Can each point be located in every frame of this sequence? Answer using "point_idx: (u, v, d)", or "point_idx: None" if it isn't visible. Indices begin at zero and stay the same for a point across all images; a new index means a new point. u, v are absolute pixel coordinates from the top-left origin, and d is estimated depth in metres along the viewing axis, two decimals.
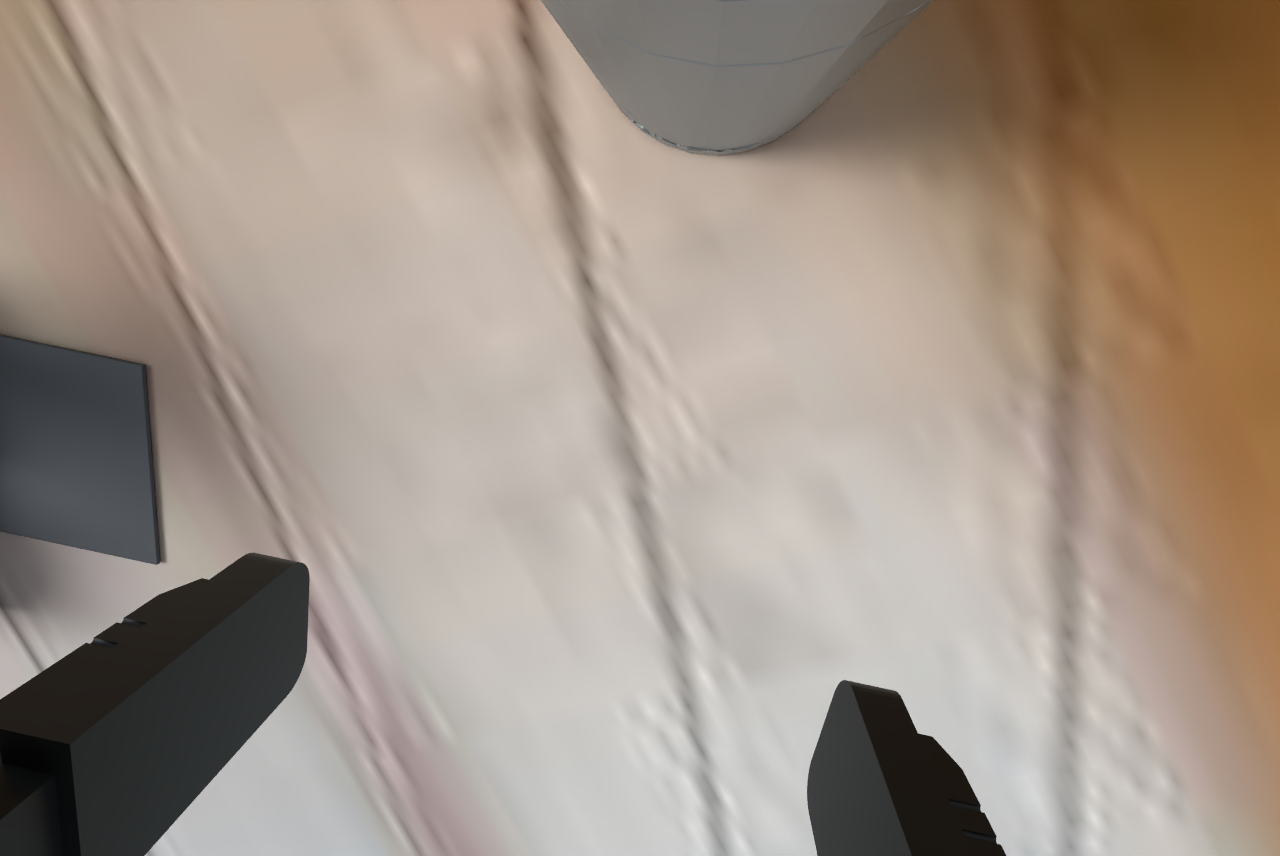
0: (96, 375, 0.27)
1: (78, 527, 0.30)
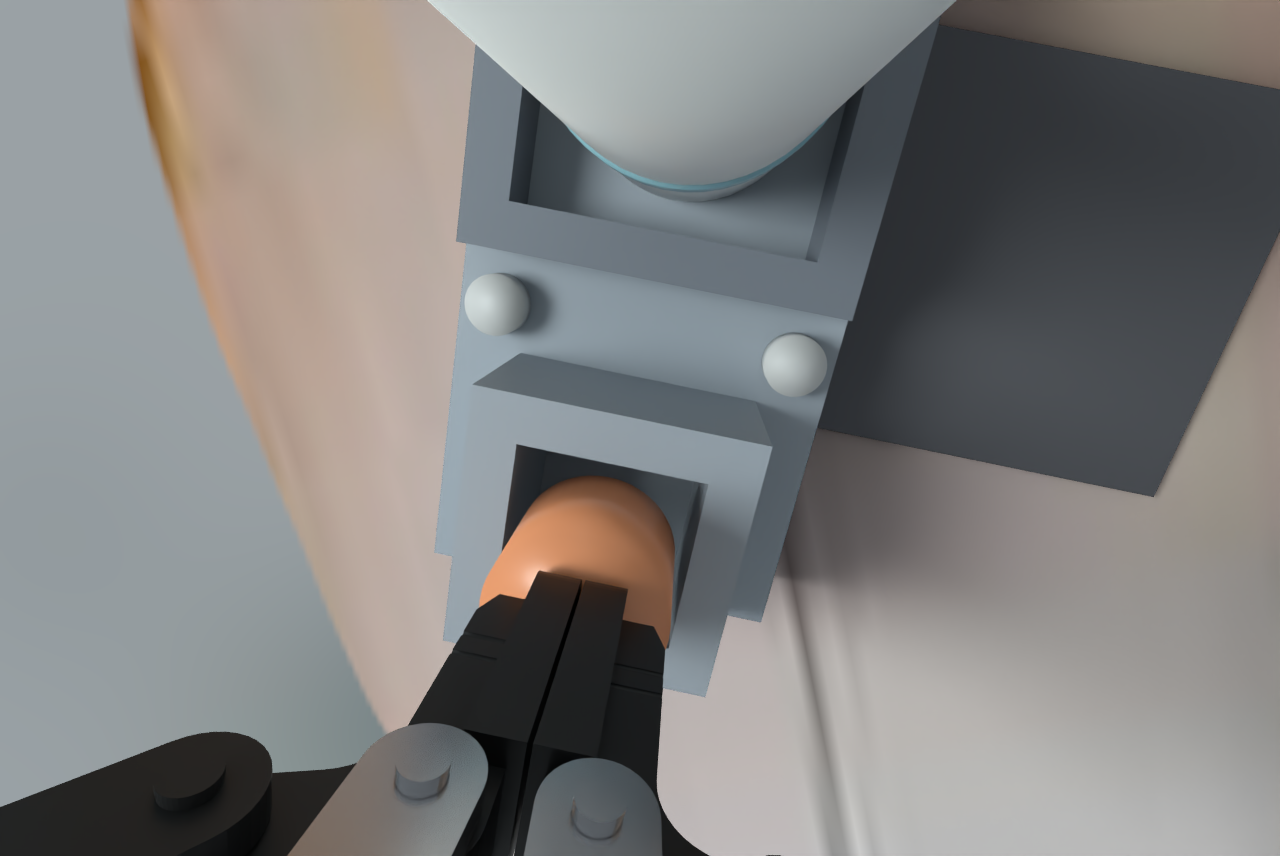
0: (1232, 124, 0.15)
1: (1031, 429, 0.17)
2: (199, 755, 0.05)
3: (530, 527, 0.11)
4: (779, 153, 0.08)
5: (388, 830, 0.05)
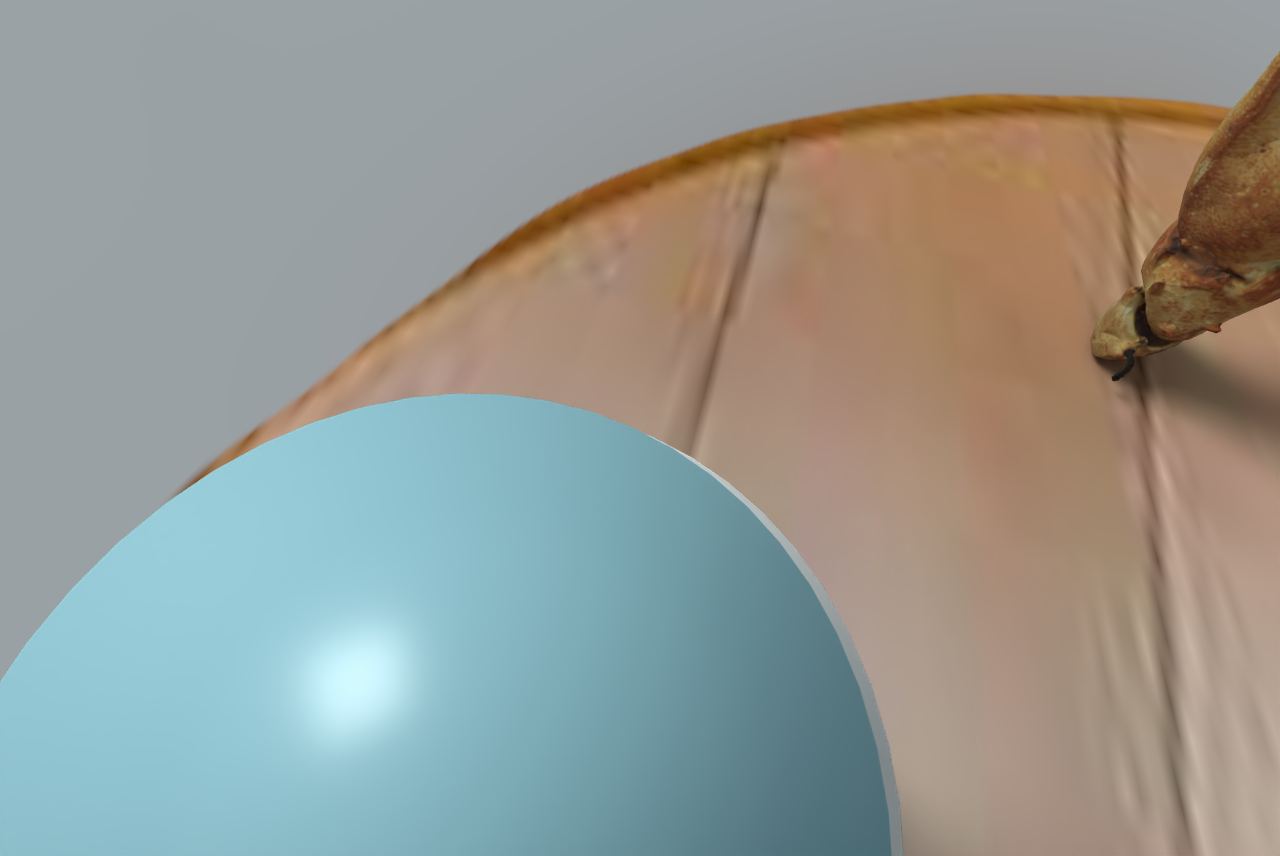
0: None
1: None
2: None
3: None
4: None
5: None
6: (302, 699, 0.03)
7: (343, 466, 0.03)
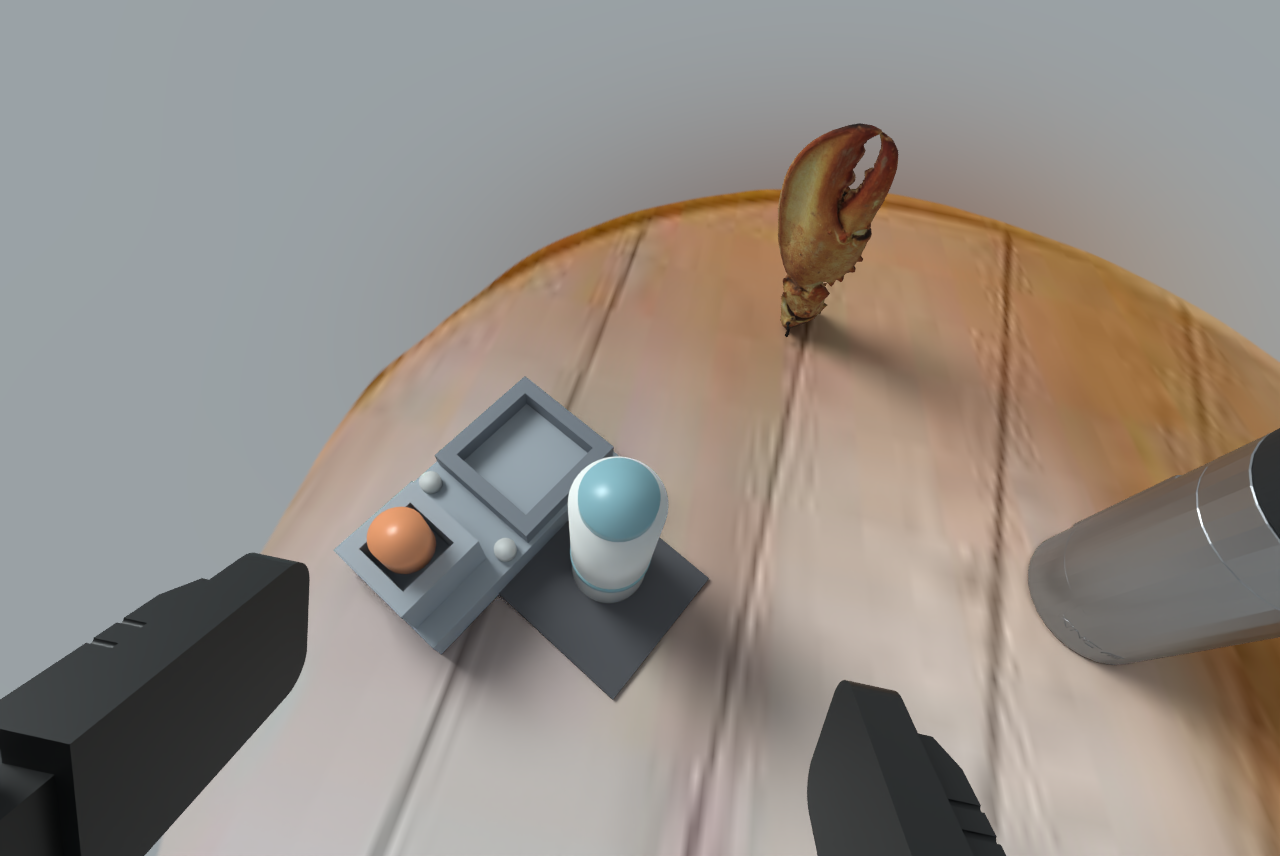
0: (677, 567, 0.43)
1: (579, 642, 0.41)
2: None
3: None
4: (608, 584, 0.37)
5: None
6: (606, 488, 0.30)
7: (606, 466, 0.31)
